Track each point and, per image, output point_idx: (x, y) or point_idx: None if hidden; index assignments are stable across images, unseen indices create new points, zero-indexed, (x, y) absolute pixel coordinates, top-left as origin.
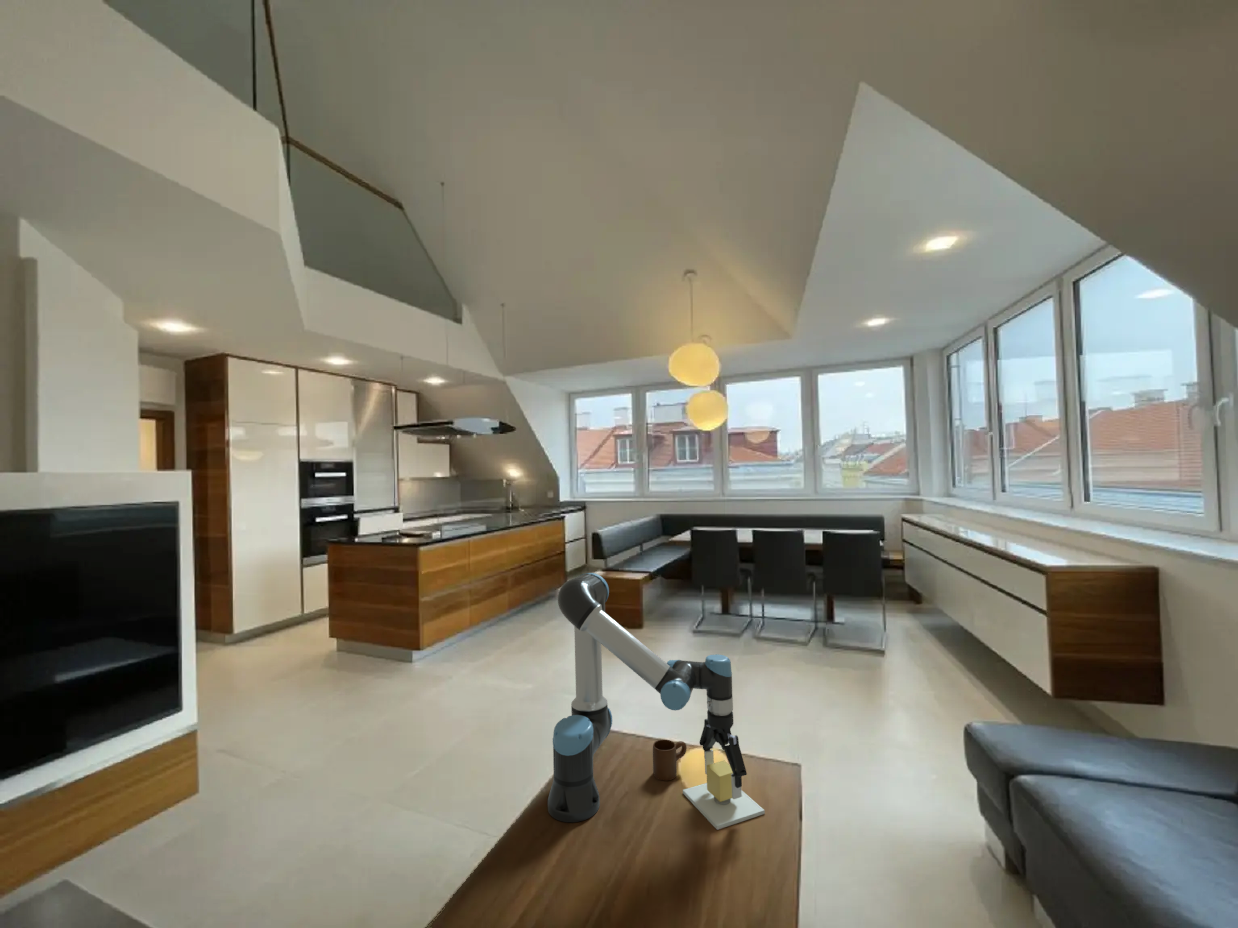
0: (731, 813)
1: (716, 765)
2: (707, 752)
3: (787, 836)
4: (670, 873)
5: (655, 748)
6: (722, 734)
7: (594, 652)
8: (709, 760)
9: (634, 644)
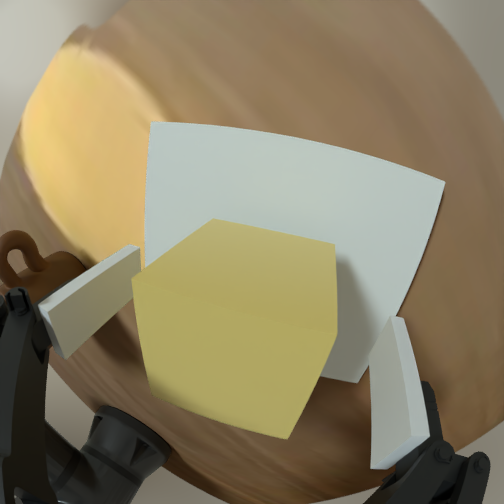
0: (357, 309)
1: (172, 369)
2: (63, 348)
3: None
4: (352, 466)
5: None
6: None
7: None
8: (95, 307)
9: None
